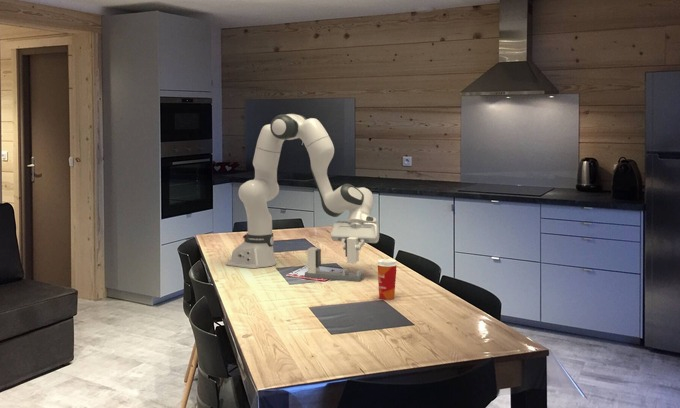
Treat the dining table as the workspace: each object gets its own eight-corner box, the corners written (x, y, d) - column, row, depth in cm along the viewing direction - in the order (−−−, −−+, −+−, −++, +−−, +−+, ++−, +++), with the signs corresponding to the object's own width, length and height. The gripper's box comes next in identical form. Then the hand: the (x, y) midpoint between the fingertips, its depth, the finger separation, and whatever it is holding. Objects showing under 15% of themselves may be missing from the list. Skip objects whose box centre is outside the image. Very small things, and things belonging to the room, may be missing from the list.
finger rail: (304, 277, 280) (304, 249, 278) (308, 274, 284) (308, 246, 283) (360, 281, 273) (360, 252, 271) (363, 278, 277) (363, 250, 276)
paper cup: (375, 295, 252) (375, 258, 250) (395, 294, 253) (395, 258, 251) (377, 300, 244) (378, 263, 242) (398, 300, 245) (399, 262, 243)
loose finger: (345, 262, 274) (344, 238, 272) (348, 260, 278) (348, 236, 277) (355, 263, 272) (355, 239, 271) (358, 260, 277) (358, 237, 276)
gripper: (332, 216, 283) (325, 243, 275) (379, 218, 276) (373, 246, 268) (336, 225, 287) (329, 252, 279) (382, 227, 281) (376, 254, 273)
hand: (351, 249), depth 274 cm, fingers closed on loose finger, 4 cm apart
